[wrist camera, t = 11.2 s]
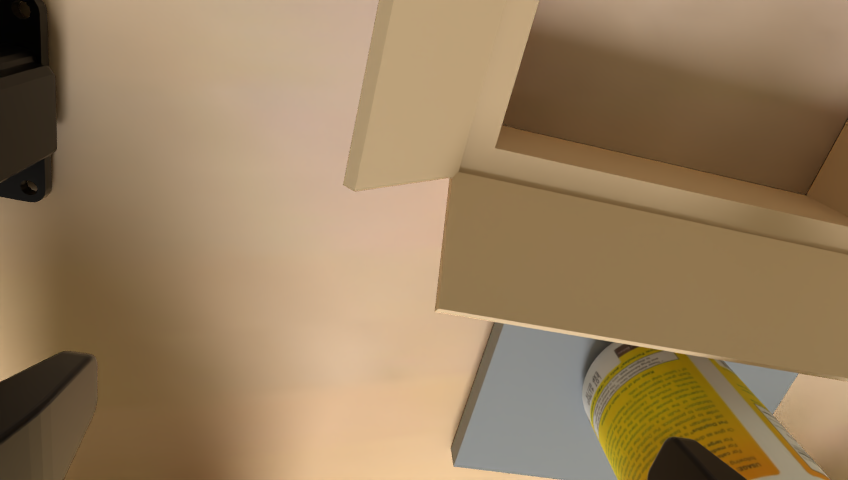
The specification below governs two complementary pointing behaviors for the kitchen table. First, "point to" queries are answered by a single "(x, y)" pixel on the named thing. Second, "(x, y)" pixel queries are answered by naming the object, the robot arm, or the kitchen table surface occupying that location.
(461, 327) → the kitchen table surface
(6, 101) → the robot arm
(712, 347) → the carton
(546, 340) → the slate mat
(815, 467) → the supplement bottle
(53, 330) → the kitchen table surface
